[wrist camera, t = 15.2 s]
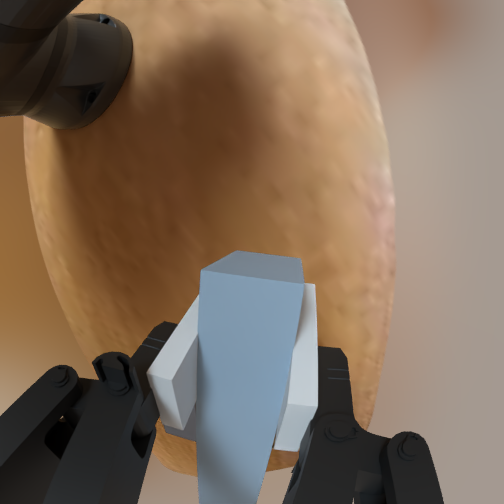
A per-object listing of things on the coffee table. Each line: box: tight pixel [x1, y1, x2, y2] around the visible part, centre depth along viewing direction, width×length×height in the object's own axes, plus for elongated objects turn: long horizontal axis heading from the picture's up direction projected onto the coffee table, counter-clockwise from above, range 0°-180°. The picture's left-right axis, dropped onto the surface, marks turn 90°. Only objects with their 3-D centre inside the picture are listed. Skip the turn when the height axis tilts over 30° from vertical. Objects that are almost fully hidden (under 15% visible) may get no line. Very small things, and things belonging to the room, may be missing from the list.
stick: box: [196, 250, 305, 504], centre depth 12 cm, size 20×3×5 cm, turn 176°
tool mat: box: [163, 402, 196, 442], centre depth 38 cm, size 18×7×1 cm, turn 175°
